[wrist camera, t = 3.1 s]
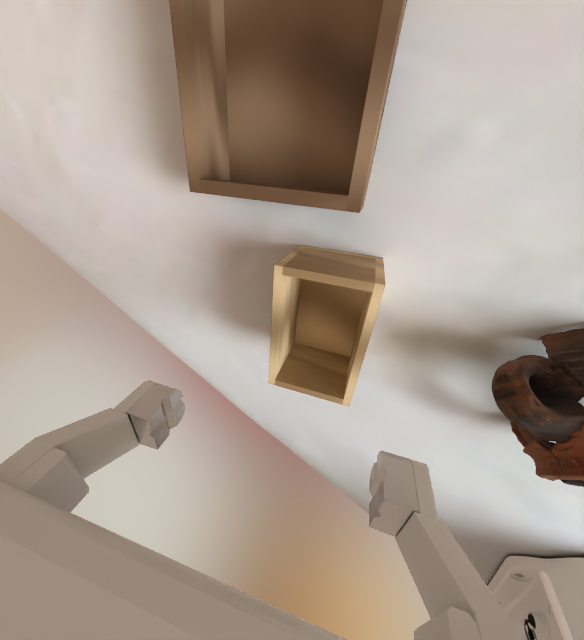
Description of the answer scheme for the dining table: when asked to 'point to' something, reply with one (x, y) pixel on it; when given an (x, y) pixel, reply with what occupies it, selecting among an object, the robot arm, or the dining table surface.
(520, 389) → the pottery mug
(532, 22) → the dining table surface
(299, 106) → the big crate
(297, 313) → the small crate
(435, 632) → the robot arm
